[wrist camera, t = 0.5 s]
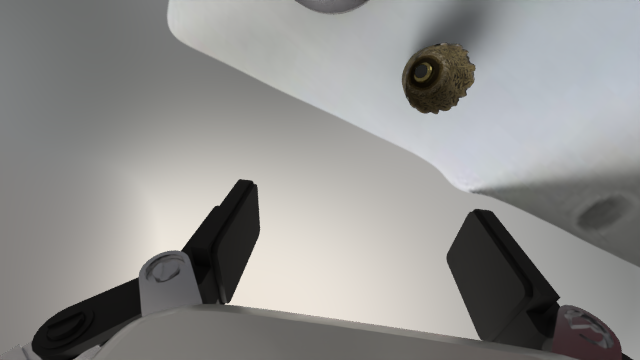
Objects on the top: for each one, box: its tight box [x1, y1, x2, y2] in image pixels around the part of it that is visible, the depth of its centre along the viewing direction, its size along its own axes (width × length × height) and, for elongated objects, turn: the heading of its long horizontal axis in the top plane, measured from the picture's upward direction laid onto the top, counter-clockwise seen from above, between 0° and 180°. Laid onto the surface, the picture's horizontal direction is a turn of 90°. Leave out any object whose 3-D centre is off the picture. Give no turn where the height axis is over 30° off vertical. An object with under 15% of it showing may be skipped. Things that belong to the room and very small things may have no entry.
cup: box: [402, 43, 475, 114], centre depth 31 cm, size 8×7×8 cm
